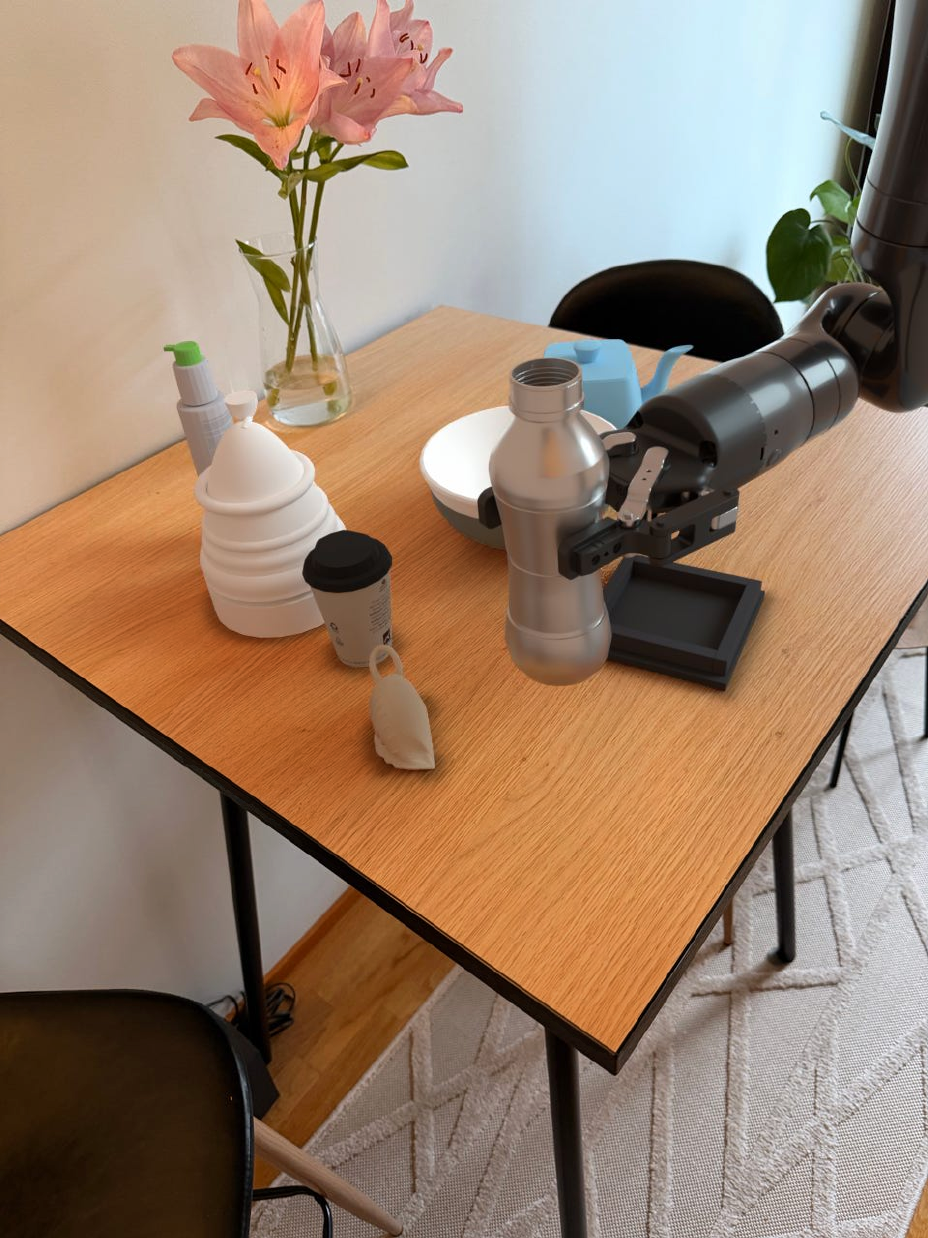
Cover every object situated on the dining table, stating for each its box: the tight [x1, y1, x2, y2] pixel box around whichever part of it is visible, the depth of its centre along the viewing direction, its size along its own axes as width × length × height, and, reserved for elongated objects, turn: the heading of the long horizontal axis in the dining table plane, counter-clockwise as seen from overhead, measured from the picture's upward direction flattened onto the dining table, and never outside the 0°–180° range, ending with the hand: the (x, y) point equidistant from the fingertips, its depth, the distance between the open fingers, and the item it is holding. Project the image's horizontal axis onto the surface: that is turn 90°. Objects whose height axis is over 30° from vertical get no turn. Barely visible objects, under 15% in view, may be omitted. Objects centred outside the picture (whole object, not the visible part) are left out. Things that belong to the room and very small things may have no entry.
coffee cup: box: [302, 529, 393, 668], centre depth 71 cm, size 7×7×10 cm
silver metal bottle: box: [489, 356, 612, 687], centre depth 52 cm, size 6×7×20 cm
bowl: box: [418, 405, 617, 551], centre depth 84 cm, size 19×19×8 cm
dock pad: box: [603, 554, 766, 692], centre depth 73 cm, size 12×12×2 cm
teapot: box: [542, 338, 694, 429], centre depth 94 cm, size 12×18×12 cm
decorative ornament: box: [368, 645, 436, 770], centre depth 65 cm, size 4×8×5 cm, turn 6°
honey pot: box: [193, 389, 347, 639], centre depth 76 cm, size 13×13×18 cm
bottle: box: [163, 340, 235, 478], centre depth 82 cm, size 4×4×20 cm
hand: (521, 537), depth 50 cm, fingers closed on silver metal bottle, 6 cm apart
